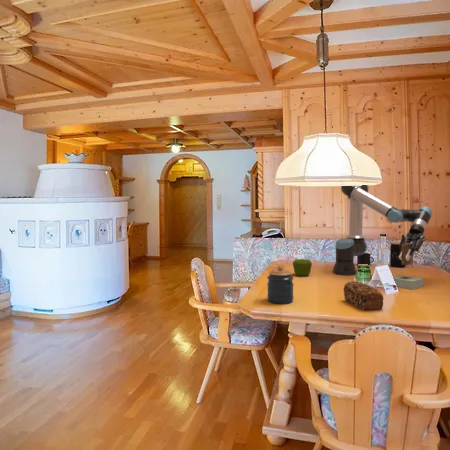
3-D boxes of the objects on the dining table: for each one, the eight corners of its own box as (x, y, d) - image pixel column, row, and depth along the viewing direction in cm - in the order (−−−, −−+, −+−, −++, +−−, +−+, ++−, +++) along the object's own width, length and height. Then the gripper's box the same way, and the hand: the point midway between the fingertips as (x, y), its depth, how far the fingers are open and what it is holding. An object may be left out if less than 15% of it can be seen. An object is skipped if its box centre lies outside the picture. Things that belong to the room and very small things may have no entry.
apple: (289, 274, 244) (289, 257, 243) (305, 272, 248) (305, 256, 247) (298, 277, 232) (298, 260, 232) (315, 276, 236) (315, 259, 235)
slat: (401, 264, 206) (401, 244, 205) (406, 263, 209) (407, 243, 209) (406, 265, 204) (407, 244, 203) (411, 264, 207) (412, 243, 206)
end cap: (388, 285, 209) (388, 277, 208) (399, 281, 216) (399, 274, 216) (412, 289, 198) (412, 281, 197) (423, 286, 205) (423, 278, 205)
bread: (343, 300, 178) (343, 280, 178) (362, 299, 180) (363, 279, 179) (362, 311, 160) (362, 289, 159) (384, 310, 162) (384, 288, 161)
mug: (373, 267, 267) (373, 255, 266) (356, 265, 272) (356, 254, 272) (374, 265, 275) (374, 253, 274) (358, 264, 281) (358, 252, 280)
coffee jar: (390, 267, 265) (390, 243, 263) (389, 264, 274) (390, 241, 273) (406, 268, 260) (407, 243, 259) (405, 265, 270) (405, 242, 269)
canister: (293, 297, 184) (293, 264, 183) (293, 304, 171) (293, 268, 170) (268, 296, 187) (268, 263, 185) (265, 303, 174) (265, 267, 173)
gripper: (434, 233, 208) (420, 264, 199) (406, 231, 221) (392, 261, 212) (430, 224, 205) (415, 256, 196) (402, 223, 217) (387, 253, 209)
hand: (403, 258), depth 204 cm, fingers closed on slat, 3 cm apart
